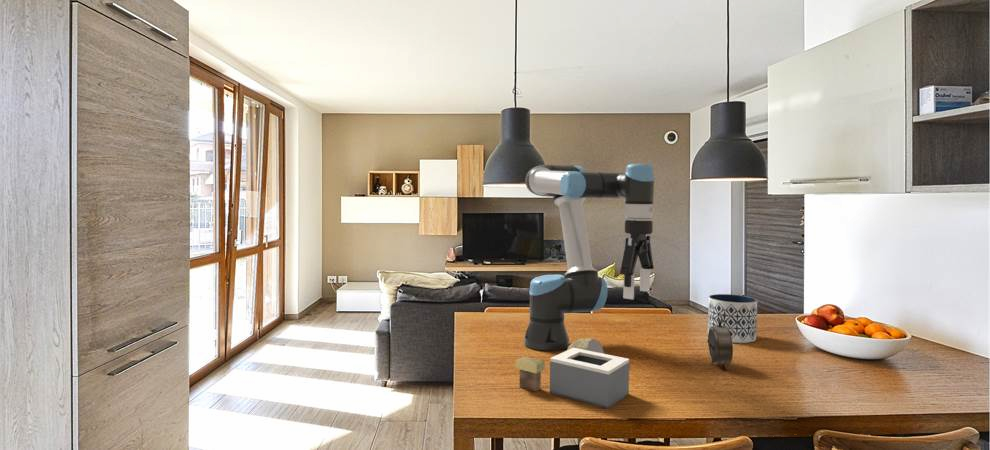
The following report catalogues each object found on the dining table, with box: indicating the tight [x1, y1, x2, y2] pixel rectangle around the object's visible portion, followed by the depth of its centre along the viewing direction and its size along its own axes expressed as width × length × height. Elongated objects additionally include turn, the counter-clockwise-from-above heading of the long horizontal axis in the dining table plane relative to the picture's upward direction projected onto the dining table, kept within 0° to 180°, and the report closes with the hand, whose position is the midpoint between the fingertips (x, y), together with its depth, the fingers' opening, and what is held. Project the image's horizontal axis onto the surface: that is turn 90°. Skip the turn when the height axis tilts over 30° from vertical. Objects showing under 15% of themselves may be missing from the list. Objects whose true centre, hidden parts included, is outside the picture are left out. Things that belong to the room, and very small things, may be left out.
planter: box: [707, 293, 758, 344], centre depth 185 cm, size 16×16×14 cm
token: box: [515, 355, 546, 374], centre depth 134 cm, size 6×4×2 cm, turn 52°
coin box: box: [549, 348, 630, 410], centre depth 130 cm, size 16×12×9 cm
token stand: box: [519, 369, 542, 392], centre depth 134 cm, size 5×2×5 cm, turn 52°
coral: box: [566, 337, 605, 354], centre depth 149 cm, size 10×10×10 cm
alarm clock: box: [706, 312, 734, 372], centre depth 153 cm, size 11×5×16 cm, turn 170°
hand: (636, 294), depth 145 cm, fingers open, 13 cm apart
